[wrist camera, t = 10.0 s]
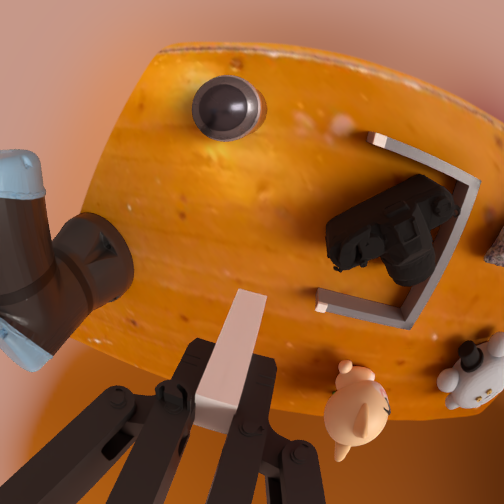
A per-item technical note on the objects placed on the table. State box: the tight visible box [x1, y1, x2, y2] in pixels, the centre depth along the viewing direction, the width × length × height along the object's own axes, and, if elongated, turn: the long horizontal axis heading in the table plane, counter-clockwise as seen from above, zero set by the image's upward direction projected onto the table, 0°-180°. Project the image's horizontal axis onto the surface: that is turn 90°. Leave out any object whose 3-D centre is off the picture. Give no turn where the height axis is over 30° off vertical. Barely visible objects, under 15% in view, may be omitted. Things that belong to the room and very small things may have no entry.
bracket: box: [315, 131, 481, 330], centre depth 29 cm, size 14×21×3 cm, turn 169°
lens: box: [192, 75, 267, 142], centre depth 25 cm, size 6×6×6 cm
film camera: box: [326, 174, 461, 287], centre depth 26 cm, size 15×10×9 cm, turn 123°
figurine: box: [437, 332, 504, 409], centre depth 33 cm, size 17×8×20 cm
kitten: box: [324, 360, 391, 462], centre depth 35 cm, size 15×10×15 cm, turn 174°
